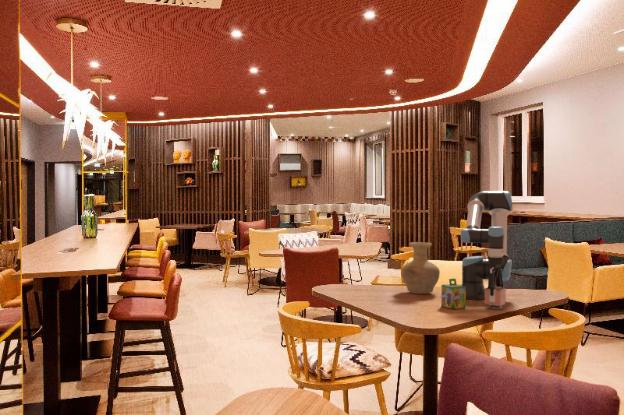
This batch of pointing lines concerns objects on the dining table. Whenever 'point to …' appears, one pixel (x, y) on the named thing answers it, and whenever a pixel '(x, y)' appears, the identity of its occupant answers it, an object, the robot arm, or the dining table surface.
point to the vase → (420, 271)
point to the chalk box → (453, 295)
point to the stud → (494, 307)
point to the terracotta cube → (496, 296)
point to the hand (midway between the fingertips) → (495, 300)
